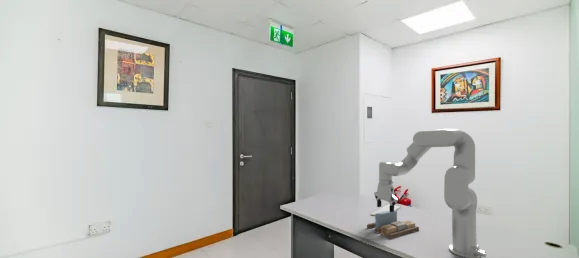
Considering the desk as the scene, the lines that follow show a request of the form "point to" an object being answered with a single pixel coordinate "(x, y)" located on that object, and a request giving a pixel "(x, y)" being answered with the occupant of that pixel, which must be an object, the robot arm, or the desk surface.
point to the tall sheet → (385, 218)
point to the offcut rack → (394, 232)
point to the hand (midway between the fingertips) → (385, 209)
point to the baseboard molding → (385, 209)
